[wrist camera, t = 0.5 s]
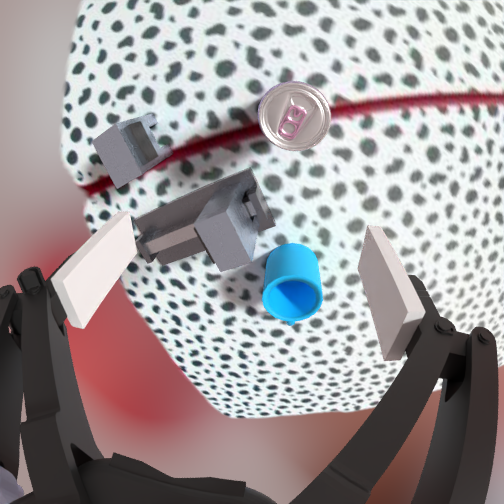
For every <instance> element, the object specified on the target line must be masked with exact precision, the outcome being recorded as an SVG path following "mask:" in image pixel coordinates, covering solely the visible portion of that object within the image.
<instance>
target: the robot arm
mask: <svg viewBox="0 0 504 504" xmlns="http://www.w3.org/2000/svg"><path fill="white" fill-rule="evenodd" d="M136 254H137V249H136V244H135V239H134V234H133V229H132V223H131V218H130V212H120V211H118V212H117V213H116V214H115V215H114V216H113V217H112V218H111V219H110V220H109V221H108V222H106V223H105V224H104V225H103V226H102V227H101V228H100V229H99V230H98V231H97V232H96V233H95V234H94V235H93V236H92V237H91V238H90V239H89V240H88V241H87V242H86V243H85V244H84V245H83V246H82V247H81V248H80V249H79V250H78V251H76V252H75V253H73V254H72V255H70V256H69V257H68V258H67V259H66V260H65V261H64V262H63V263H62V264H61V265H60V266H59V268H57V269H56V270H55V271H54V272H53V273H52V275H51V276H50V277H49V278H48V279H47V280H46V281H45V280H44V278H43V275H42V273H41V270H40V268H38V267H30V268H28V269H26V270H24V271H23V272H21V273H20V275H19V276H18V278H17V281H18V283H19V285H20V287H21V290H22V292H23V293H16V291H15V289H14V287H13V286H12V285H7V286H3V287H1V288H0V504H277V503H276V502H275V501H273V500H272V499H270V498H269V497H268V496H266V495H264V494H262V493H260V492H258V491H256V490H253V489H251V488H248V487H246V482H243V481H234V480H226V479H219V478H212V477H206V478H173V477H170V476H168V475H166V474H164V473H162V472H160V471H159V470H157V469H155V468H153V467H151V466H149V465H148V464H145V463H144V462H142V461H139V460H135V459H132V458H129V457H126V456H123V455H120V454H117V453H113V456H112V458H104V457H103V455H102V454H101V452H100V451H99V449H98V448H97V446H96V444H95V441H94V438H93V435H92V433H91V430H90V427H89V424H88V420H87V417H86V414H85V410H84V407H83V403H82V400H81V396H80V393H79V389H78V385H77V380H76V376H75V372H74V367H73V362H72V358H71V353H70V347H69V341H68V335H67V329H66V326H65V324H64V320H65V319H66V318H67V317H68V319H69V321H70V323H71V325H72V326H74V327H78V328H82V329H84V328H85V326H86V325H87V323H88V322H89V320H90V318H91V317H92V315H93V314H94V312H95V311H96V310H97V308H98V307H99V305H100V303H101V302H102V300H103V299H104V298H105V296H106V295H107V293H108V292H109V291H110V289H111V288H112V286H113V285H114V284H115V282H116V281H117V279H118V278H119V277H120V275H121V274H122V273H123V271H124V270H125V268H126V267H127V266H128V264H129V263H130V262H131V260H132V259H133V258H134V256H135V255H136ZM358 271H359V274H360V277H361V280H362V284H363V287H364V290H365V293H366V297H367V300H368V303H369V307H370V310H371V313H372V317H373V321H374V324H375V328H376V331H377V335H378V339H379V343H380V347H381V351H382V355H383V359H384V361H394V360H401V358H402V356H403V354H404V353H405V351H406V354H407V357H408V359H407V361H406V362H405V364H404V366H403V367H402V369H401V371H400V372H399V374H398V375H397V377H396V378H395V380H394V382H393V383H392V385H391V386H390V388H389V389H388V391H387V392H386V393H385V395H384V396H383V398H382V399H381V401H380V402H379V403H378V405H377V406H376V408H375V409H374V410H373V412H372V413H371V415H370V416H369V417H368V418H367V420H366V421H365V422H364V424H363V425H362V426H361V427H360V429H359V430H358V431H357V432H356V434H355V435H354V436H353V437H352V439H351V440H350V441H349V442H348V443H347V445H346V446H345V447H344V448H343V449H342V450H341V452H340V453H339V454H338V455H337V456H336V457H335V458H334V459H333V461H332V462H331V463H330V464H329V465H328V466H327V467H326V468H325V469H324V470H323V471H322V472H321V473H320V474H319V476H317V477H316V478H315V479H314V480H313V481H312V482H311V483H310V484H309V485H308V486H307V488H305V489H304V490H303V491H302V492H301V493H300V494H299V495H298V496H297V497H296V498H295V499H294V500H292V502H290V503H289V504H365V503H366V501H367V500H368V498H369V496H370V493H371V490H372V488H373V486H374V485H375V484H376V482H377V481H378V480H379V479H380V477H381V476H382V475H383V473H384V472H385V470H386V469H387V468H388V466H389V465H390V463H391V462H392V460H393V459H394V457H395V456H396V454H397V453H398V451H399V450H400V448H401V447H402V445H403V443H404V442H405V440H406V438H407V437H408V435H409V434H410V432H411V430H412V428H413V427H414V425H415V423H416V422H417V420H418V418H419V416H420V414H421V412H422V411H423V409H424V407H425V405H426V403H427V401H428V399H429V397H430V395H431V393H432V391H433V389H434V387H435V385H436V383H437V380H438V378H442V379H443V384H442V391H441V397H440V403H439V408H438V413H437V419H436V423H435V428H434V431H433V436H432V440H431V444H430V448H429V451H428V455H427V458H426V462H425V465H424V468H423V472H422V474H421V478H420V480H419V484H418V486H417V489H416V492H415V494H414V497H413V500H412V502H411V504H484V503H485V500H486V495H487V491H488V486H489V482H490V477H491V472H492V466H493V459H494V452H495V444H496V434H497V420H498V360H497V347H496V340H495V337H494V336H493V334H492V333H491V332H490V331H489V330H488V329H486V328H484V327H475V328H474V329H473V330H472V332H471V333H470V335H469V334H465V333H461V332H457V331H456V329H455V326H454V325H453V324H452V322H450V321H449V320H448V319H446V318H443V317H440V315H439V313H438V311H437V309H436V307H435V305H434V303H433V301H432V299H431V297H429V294H428V292H427V291H426V288H425V286H424V284H423V282H422V281H421V280H420V279H418V278H417V277H416V276H415V275H407V273H406V271H405V269H404V267H403V265H402V263H401V262H400V260H399V258H398V256H397V254H396V252H395V251H394V249H393V247H392V245H391V243H390V242H389V240H388V238H387V237H386V235H385V233H384V231H383V230H382V228H381V227H380V226H370V225H368V226H367V230H366V235H365V239H364V244H363V248H362V252H361V257H360V261H359V265H358ZM8 327H10V329H11V333H9V328H8ZM23 392H24V399H25V407H26V415H27V421H26V422H22V423H21V411H22V401H23V400H22V399H23ZM20 423H21V425H20ZM20 433H21V439H22V445H23V450H24V455H25V460H26V464H27V469H28V472H29V477H30V480H31V484H32V487H33V492H31V493H29V494H27V495H25V496H24V491H23V489H22V487H21V486H20V485H18V484H17V476H18V468H19V445H20Z"/></svg>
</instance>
